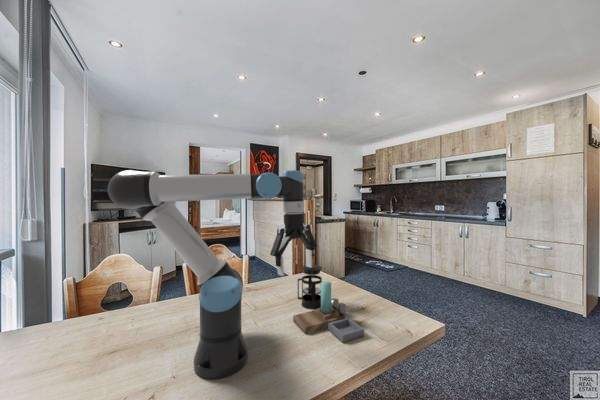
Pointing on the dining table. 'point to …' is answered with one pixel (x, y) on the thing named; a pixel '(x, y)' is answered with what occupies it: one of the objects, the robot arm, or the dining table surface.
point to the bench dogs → (339, 307)
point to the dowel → (326, 298)
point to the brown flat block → (315, 320)
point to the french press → (311, 287)
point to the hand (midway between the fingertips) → (295, 270)
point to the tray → (345, 330)
